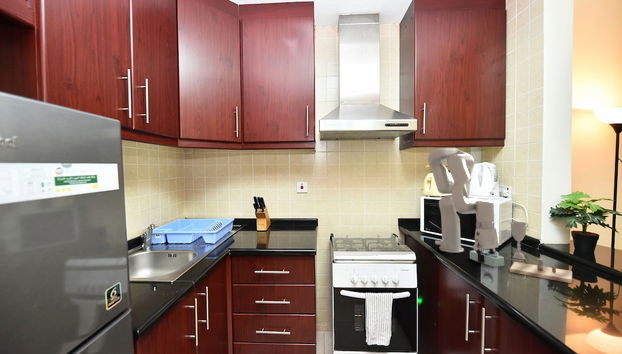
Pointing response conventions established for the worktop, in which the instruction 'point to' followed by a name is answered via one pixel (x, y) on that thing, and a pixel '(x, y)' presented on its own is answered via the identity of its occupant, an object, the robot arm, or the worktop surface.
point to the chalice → (518, 236)
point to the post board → (542, 271)
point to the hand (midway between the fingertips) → (486, 260)
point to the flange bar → (488, 258)
